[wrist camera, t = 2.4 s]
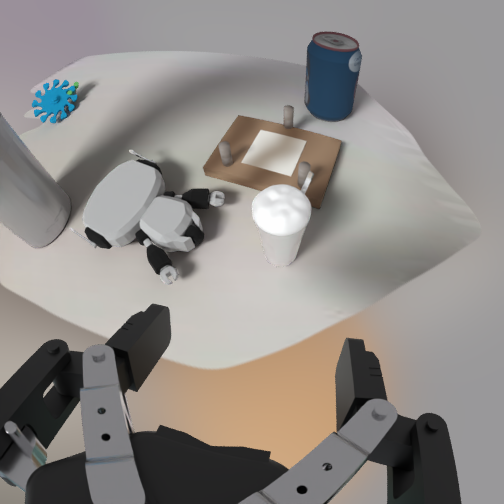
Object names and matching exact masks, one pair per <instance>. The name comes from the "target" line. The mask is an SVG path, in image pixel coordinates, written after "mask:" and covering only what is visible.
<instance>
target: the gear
mask: <svg viewBox="0 0 504 504" xmlns="http://www.w3.org/2000/svg"><path fill="white" fill-rule="evenodd" d="M58 84H59V80H57V79H55V80H54V81H53V87H52V88H51V90H47V89H48V88H49V83H46V84H44V85H43V88H44V89H45V95H44V96H41V91H40V90H39V91H37V92H36V93H35V96H36V97H38V98H40V99H41V100H42V102H41V103H38V102H37V101H36V100H34V101H33V103H32V107H37V106H39V107H42V110H38V109H36V110H34V114H35V117H37V116H38V115H39V114H41V113H44V112H47V114H46V115H43V116H41V117H40V120H41V121H42V122H43V123H44V122H45V121H46V119H47V118H48V116H49V115H51V114H54V116H53V117H51V119H50V122H51V123H56V116H57V114H58V112H59V111H62V114H61V119H65V118H67V114H66V113H65V111H64V107H65V106H68V107H69V111H70V112H71V111H72V110H73V109H74V108H75V106H74V105H73V104H70V103H69V102H68V101H67V100H68V99H72V101H73V102H76V100H77V95H76V89H77V88H78V84H79V83H78V82H75V83H74V86H71V87H70V88H68V89H62V88H63V87H67V86H68V85H69V82H68V81H67V80H65V81H64V82H63V84H62V85H61V86H60V87H58V88H55V87H56V86H57V85H58Z"/></svg>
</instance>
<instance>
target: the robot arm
mask: <svg viewBox="0 0 504 504" xmlns="http://www.w3.org/2000/svg"><path fill="white" fill-rule="evenodd" d="M70 210H71V202H70V198H69V196H68V195H67V194H66V193H65V192H64V190H63V189H62V188H61V187H60V186H59V185H58V184H57V183H56V181H55V180H54V179H53V178H52V177H51V175H50V174H49V173H48V172H47V171H46V170H45V168H44V167H43V166H42V165H41V164H40V163H39V161H38V160H37V159H36V158H35V156H34V155H33V154H32V153H31V152H30V150H29V149H28V148H27V147H26V145H25V144H24V143H23V142H22V140H21V139H20V138H19V136H18V135H17V134H16V133H15V131H14V130H13V129H12V128H11V126H10V125H9V124H8V122H7V121H6V119H5V118H4V117H3V115H2V114H1V113H0V223H2V224H3V225H4V226H5V227H7V228H8V229H9V230H10V231H12V232H13V233H14V234H15V235H17V236H18V237H19V238H21V239H22V240H23V241H25V242H26V243H27V244H29V245H30V246H31V247H34V248H41V247H44V246H46V245H48V244H49V243H51V242H52V241H53V240H54V239H55V238H56V237H57V236H58V235H59V234H60V232H61V231H62V230H63V228H64V226H65V224H66V223H67V220H68V218H69V215H70ZM170 340H171V325H170V312H169V308H168V307H166V306H161V305H157V304H151V305H150V306H149V307H148V308H147V310H146V311H145V312H142V311H141V312H139V313H137V314H135V315H133V316H131V317H130V318H129V319H128V320H127V321H126V323H125V324H124V325H123V326H122V327H121V328H120V329H119V330H118V331H117V332H116V333H115V334H114V335H113V336H112V337H111V338H110V339H109V340H108V341H107V343H106V344H105V345H102V344H101V345H99V344H98V345H94V346H91V347H89V348H87V349H86V350H85V351H84V352H76V351H69V348H68V345H67V343H66V342H64V341H63V340H59V339H54V340H50V341H48V342H46V343H44V344H43V345H42V346H41V347H40V348H39V349H38V350H37V351H36V352H35V353H34V354H33V355H32V356H31V357H30V358H29V359H28V360H27V361H26V362H25V363H24V364H23V365H22V366H21V368H20V369H18V371H17V372H16V373H15V374H14V375H13V376H12V377H11V378H10V379H9V380H8V381H7V382H6V383H5V384H4V385H3V387H2V388H1V389H0V477H1V478H2V479H3V480H4V481H6V482H7V483H8V484H9V485H12V486H17V487H19V488H20V489H22V490H23V491H24V492H25V504H328V503H329V502H330V501H331V500H332V499H333V498H334V497H335V496H336V495H337V494H338V493H339V491H340V490H341V489H342V488H343V487H344V486H345V485H346V484H347V483H348V482H349V481H350V480H351V479H352V477H353V476H354V475H355V474H356V473H357V472H358V471H359V470H360V468H361V467H362V466H363V465H364V464H365V463H366V461H367V460H369V461H373V462H376V463H379V464H383V465H387V504H461V497H460V490H459V483H458V477H457V471H456V465H455V460H454V455H453V450H452V446H451V441H450V437H449V432H448V428H447V424H446V422H445V421H444V420H443V419H442V418H441V417H440V416H438V415H436V414H433V413H425V414H423V415H421V416H420V417H419V418H418V419H417V420H414V419H411V418H407V417H403V416H401V415H398V414H397V410H396V408H395V407H394V406H393V405H392V404H391V403H390V402H388V401H387V396H386V391H385V386H384V382H383V377H382V373H381V370H380V364H379V360H378V358H377V357H376V356H375V354H374V353H373V352H369V351H365V345H364V341H363V340H362V339H352V338H346V340H345V342H344V345H343V348H342V352H341V354H340V357H339V361H338V364H337V368H336V374H335V380H336V381H335V382H336V414H337V415H336V419H337V433H336V432H333V433H331V434H330V435H329V436H328V437H327V438H326V439H324V440H323V441H322V442H321V443H320V444H319V445H318V446H317V447H316V448H315V449H314V450H312V451H311V452H310V453H309V454H308V455H307V456H305V457H304V458H303V459H302V460H301V461H299V462H298V463H297V464H296V465H294V466H293V467H292V468H291V469H290V470H289V469H287V468H286V467H285V466H283V465H281V464H280V463H278V462H276V461H274V460H271V459H269V457H270V453H271V452H270V451H264V450H258V449H252V448H247V447H225V446H223V447H222V446H210V445H208V444H206V443H204V442H202V441H200V440H198V439H196V438H194V437H192V436H191V435H189V434H187V433H184V432H181V431H177V430H175V429H171V428H168V427H165V426H162V425H160V426H159V428H158V430H157V431H143V432H137V433H135V432H134V428H133V424H132V420H131V416H130V412H129V408H128V403H127V399H126V395H125V393H126V391H127V390H128V389H130V390H133V391H136V392H138V390H139V388H140V387H141V386H142V384H143V383H144V381H145V379H146V378H147V377H148V375H149V374H150V372H151V371H152V369H153V368H154V366H155V365H156V363H157V362H158V360H159V359H160V357H161V356H162V355H163V353H164V352H165V350H166V349H167V347H168V346H169V343H170ZM52 382H53V383H54V386H53V387H52V388H51V389H50V391H49V392H48V393H47V394H46V396H45V397H44V398H43V394H44V392H45V390H46V389H47V387H48V386H49V385H50V384H51V383H52ZM79 401H81V415H82V426H83V435H84V442H85V450H86V451H85V452H82V453H79V454H76V455H73V456H70V457H67V458H64V459H61V460H58V461H55V462H51V463H48V464H46V460H47V452H46V449H47V448H48V446H49V444H50V443H51V441H52V440H53V439H54V437H55V435H56V434H57V433H58V431H59V430H60V428H61V427H62V425H63V424H64V423H65V421H66V419H67V418H68V417H69V415H70V414H71V413H72V411H73V410H74V408H75V407H76V405H77V404H78V403H79Z"/></svg>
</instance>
